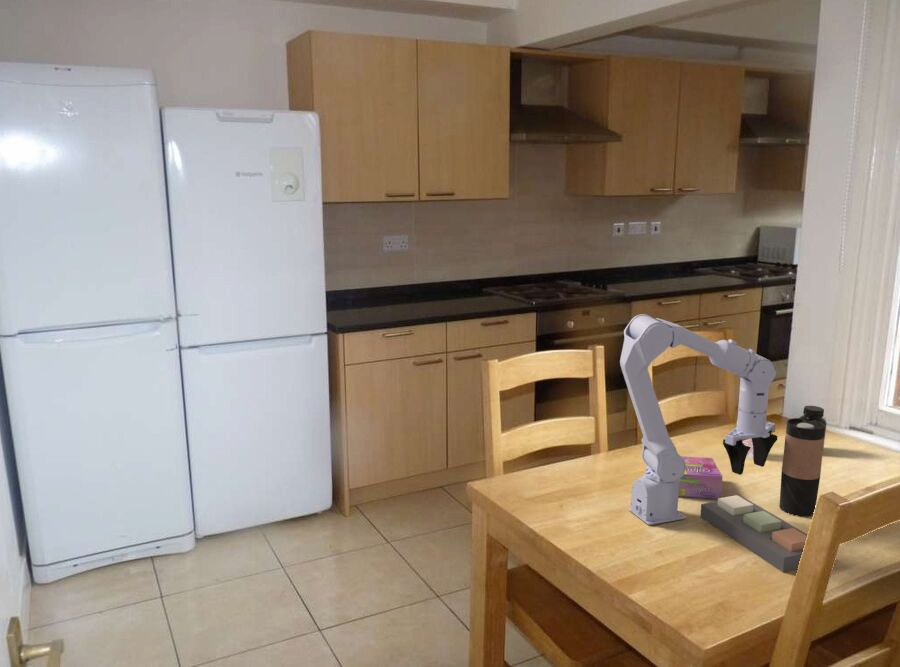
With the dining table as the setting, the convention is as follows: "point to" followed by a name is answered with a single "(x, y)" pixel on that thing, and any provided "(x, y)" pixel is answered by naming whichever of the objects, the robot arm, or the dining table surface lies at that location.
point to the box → (700, 478)
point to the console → (753, 535)
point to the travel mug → (801, 466)
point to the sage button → (762, 521)
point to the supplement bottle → (814, 415)
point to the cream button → (735, 505)
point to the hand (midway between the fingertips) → (748, 469)
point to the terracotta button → (789, 539)
